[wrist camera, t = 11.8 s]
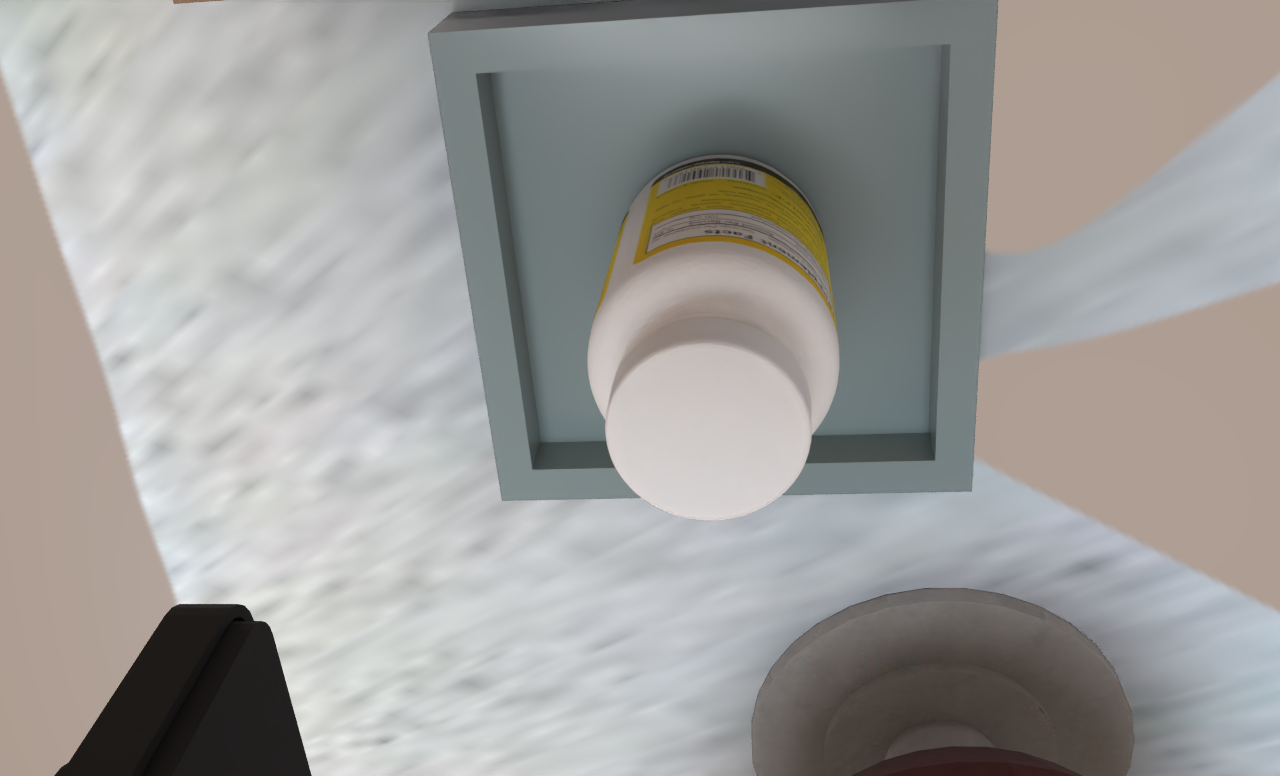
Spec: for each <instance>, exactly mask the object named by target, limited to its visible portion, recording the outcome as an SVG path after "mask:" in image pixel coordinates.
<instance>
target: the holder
mask: <svg viewBox="0 0 1280 776" xmlns="http://www.w3.org/2000/svg"><path fill="white" fill-rule="evenodd" d="M207 1H221V0H173V3H174V4H179V3H193V2H207Z"/></svg>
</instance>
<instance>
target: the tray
mask: <svg viewBox="0 0 1280 776" xmlns="http://www.w3.org/2000/svg"><path fill="white" fill-rule="evenodd" d="M997 14H998V0H631V1H616V2H602V3H587V4H573V5H558V6H543V7H529V8H514V9H500V10H485V11H470V12H456V13H451V14H450V15H449V16H448V17H446V18H445V19H444V20H443V21H442V22H440V23H439V24H438V25H437V26H436V27H435V28H433V29H432V30H431V31H430V32H429V33H428V38H429V44H430V51H431V57H432V63H433V70H434V76H435V82H436V88H437V95H438V101H439V107H440V114H441V120H442V126H443V132H444V139H445V145H446V151H447V158H448V164H449V170H450V177H451V183H452V189H453V195H454V202H455V208H456V214H457V221H458V227H459V233H460V239H461V246H462V252H463V258H464V265H465V271H466V277H467V284H468V290H469V296H470V302H471V309H472V315H473V321H474V328H475V334H476V340H477V346H478V353H479V359H480V365H481V372H482V378H483V384H484V391H485V397H486V403H487V409H488V416H489V422H490V428H491V435H492V441H493V447H494V453H495V460H496V466H497V472H498V479H499V485H500V491H501V497H502V501H513V500H563V499H613V498H641V497H640V496H639V495H637V494H636V493H635V492H634V491H633V490H632V489H631V488H630V487H629V486H628V485H627V483H626V482H625V481H624V480H623V479H622V477H621V476H620V474H619V473H618V471H617V470H616V468H615V466H614V464H613V462H612V460H611V457H610V454H609V451H608V447H607V442H606V435H605V421H606V420H605V419H604V417H603V416H602V414H601V412H600V410H599V408H598V406H597V404H596V401H595V399H594V396H593V393H592V390H591V386H590V381H589V376H588V364H587V359H588V345H589V338H590V333H591V329H592V324H593V321H594V317H595V314H596V311H597V307H598V304H599V300H600V297H601V293H602V290H603V286H604V282H605V279H606V275H607V272H608V269H609V265H610V262H611V258H612V255H613V251H614V247H615V244H616V241H617V237H618V234H619V231H620V228H621V225H622V222H623V220H624V217H625V215H626V213H627V211H628V209H629V208H630V206H631V204H632V202H633V201H634V199H635V198H636V196H637V195H638V194H639V193H640V191H641V190H642V189H643V188H644V187H645V186H646V185H647V184H648V183H649V182H650V181H651V180H652V179H653V178H655V177H656V176H657V175H659V174H660V173H661V172H663V171H665V170H666V169H668V168H670V167H672V166H674V165H676V164H678V163H680V162H683V161H686V160H689V159H692V158H696V157H701V156H707V155H735V156H741V157H746V158H750V159H754V160H757V161H759V162H762V163H764V164H766V165H768V166H770V167H772V168H774V169H776V170H777V171H779V172H780V173H782V174H783V175H784V176H785V177H787V178H788V179H789V180H791V181H792V182H793V183H794V184H795V185H796V186H797V187H798V188H799V189H800V190H801V191H802V193H803V194H804V195H805V196H806V198H807V199H808V201H809V202H810V204H811V206H812V207H813V209H814V211H815V213H816V215H817V218H818V220H819V222H820V226H821V229H822V232H823V236H824V241H825V246H826V253H827V260H828V267H829V275H830V282H831V289H832V298H833V305H834V312H835V319H836V327H837V334H838V341H839V376H838V384H837V388H836V392H835V395H834V398H833V401H832V403H831V406H830V408H829V410H828V412H827V414H826V416H825V418H824V420H823V421H822V423H821V424H820V426H819V427H818V428H817V429H816V431H815V432H814V433H813V434H812V439H811V445H810V450H809V454H808V457H807V460H806V463H805V465H804V467H803V469H802V471H801V473H800V474H799V476H798V478H797V479H796V480H795V482H794V483H793V484H792V485H791V486H790V487H789V489H788V490H787V491H786V492H784V493H783V494H782V495H813V494H863V493H913V492H963V491H972V479H973V460H974V442H975V422H976V404H977V386H978V367H979V349H980V330H981V312H982V293H983V274H984V256H985V237H986V219H987V199H988V181H989V162H990V144H991V125H992V106H993V89H994V87H993V86H994V69H995V51H996V32H997Z"/></svg>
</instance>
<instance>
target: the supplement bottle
mask: <svg viewBox="0 0 1280 776" xmlns="http://www.w3.org/2000/svg"><path fill="white" fill-rule="evenodd" d="M587 364H588V376H589V381H590V386H591V390H592V393H593V396H594V399H595V401H596V404H597V406H598V408H599V410H600V412H601V414H602V416H603V417H604V419H605V420H606V421H605V435H606V442H607V447H608V451H609V454H610V457H611V460H612V462H613V464H614V466H615V468H616V470H617V471H618V473H619V474H620V476H621V477H622V479H623V480H624V481H625V482H626V483H627V485H628V486H629V487H630V488H631V489H632V490H633V491H634V492H635V493H636V494H637V495H639V496H640V497H641V498H643V499H644V500H645V501H647V502H648V503H650V504H651V505H653V506H655V507H657V508H659V509H661V510H663V511H665V512H668V513H670V514H673V515H676V516H680V517H684V518H689V519H695V520H728V519H732V518H737V517H741V516H744V515H747V514H750V513H753V512H755V511H757V510H759V509H761V508H763V507H765V506H767V505H769V504H770V503H772V502H773V501H775V500H776V499H778V498H779V497H780V496H781V495H782V494H783V493H784V492H786V491H787V490H788V489H789V487H790V486H791V485H792V484H793V483H794V482H795V480H796V479H797V478H798V476H799V474H800V473H801V471H802V469H803V467H804V465H805V463H806V460H807V457H808V454H809V450H810V445H811V439H812V434H813V433H814V432H815V431H816V429H817V428H818V427H819V426H820V424H821V423H822V421H823V420H824V418H825V416H826V414H827V412H828V410H829V408H830V406H831V403H832V401H833V398H834V395H835V392H836V388H837V384H838V376H839V341H838V334H837V327H836V319H835V312H834V305H833V298H832V289H831V282H830V275H829V267H828V260H827V253H826V246H825V241H824V236H823V232H822V229H821V226H820V222H819V220H818V218H817V215H816V213H815V211H814V209H813V207H812V206H811V204H810V202H809V201H808V199H807V198H806V196H805V195H804V194H803V193H802V191H801V190H800V189H799V188H798V187H797V186H796V185H795V184H794V183H793V182H792V181H791V180H789V179H788V178H787V177H785V176H784V175H783V174H782V173H780V172H779V171H777V170H776V169H774V168H772V167H770V166H768V165H766V164H764V163H762V162H759V161H757V160H754V159H750V158H746V157H741V156H735V155H707V156H701V157H696V158H692V159H689V160H686V161H683V162H680V163H678V164H676V165H674V166H672V167H670V168H668V169H666V170H665V171H663V172H661V173H660V174H659V175H657V176H656V177H655V178H653V179H652V180H651V181H650V182H649V183H648V184H647V185H646V186H645V187H644V188H643V189H642V190H641V191H640V193H639V194H638V195H637V196H636V198H635V199H634V201H633V202H632V204H631V206H630V208H629V209H628V211H627V213H626V215H625V217H624V220H623V222H622V225H621V228H620V231H619V234H618V237H617V241H616V244H615V247H614V251H613V255H612V258H611V262H610V265H609V269H608V272H607V275H606V279H605V282H604V286H603V290H602V293H601V297H600V300H599V304H598V307H597V311H596V314H595V317H594V321H593V324H592V329H591V333H590V338H589V345H588V359H587Z"/></svg>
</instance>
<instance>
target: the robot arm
mask: <svg viewBox="0 0 1280 776" xmlns="http://www.w3.org/2000/svg"><path fill="white" fill-rule="evenodd" d="M55 776H311V772H310V769H309V765H308V761H307V758H306V754H305V750H304V747H303V743H302V739H301V736H300V732H299V728H298V725H297V721H296V717H295V714H294V710H293V707H292V703H291V699H290V696H289V692H288V688H287V685H286V681H285V677H284V674H283V670H282V666H281V663H280V659H279V655H278V652H277V648H276V644H275V641H274V637H273V634H272V631H271V629H270V627H269V625H268V624H267V623H266V622H262V621H254V620H253V618H252V615H251V613H250V611H249V610H248V609H247V608H246V607H245V606H243V605H239V604H179V605H177V606H174V607H172V608H171V609H170V610H169V612H168V613H167V614H166V615H165V616H164V618H163V619H162V621H161V622H160V624H159V626H158V627H157V628H156V630H155V631H154V633H153V635H152V636H151V638H150V639H149V641H148V642H147V644H146V645H145V647H144V648H143V650H142V651H141V653H140V654H139V656H138V657H137V659H136V661H135V662H134V664H133V665H132V667H131V668H130V670H129V671H128V673H127V674H126V676H125V677H124V679H123V680H122V682H121V683H120V685H119V687H118V688H117V690H116V691H115V693H114V694H113V696H112V697H111V699H110V700H109V702H108V703H107V705H106V706H105V708H104V709H103V711H102V713H101V714H100V716H99V717H98V719H97V720H96V722H95V724H94V725H93V726H92V728H91V729H90V731H89V732H88V734H87V736H86V737H85V739H84V740H83V742H82V743H81V745H80V746H79V748H78V749H77V751H76V752H75V754H74V755H73V757H72V758H71V760H70V761H69V763H67V764H66V765H64V766H63V767H61V768H60V770H59V771H58V772H57V773H56V774H55Z"/></svg>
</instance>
